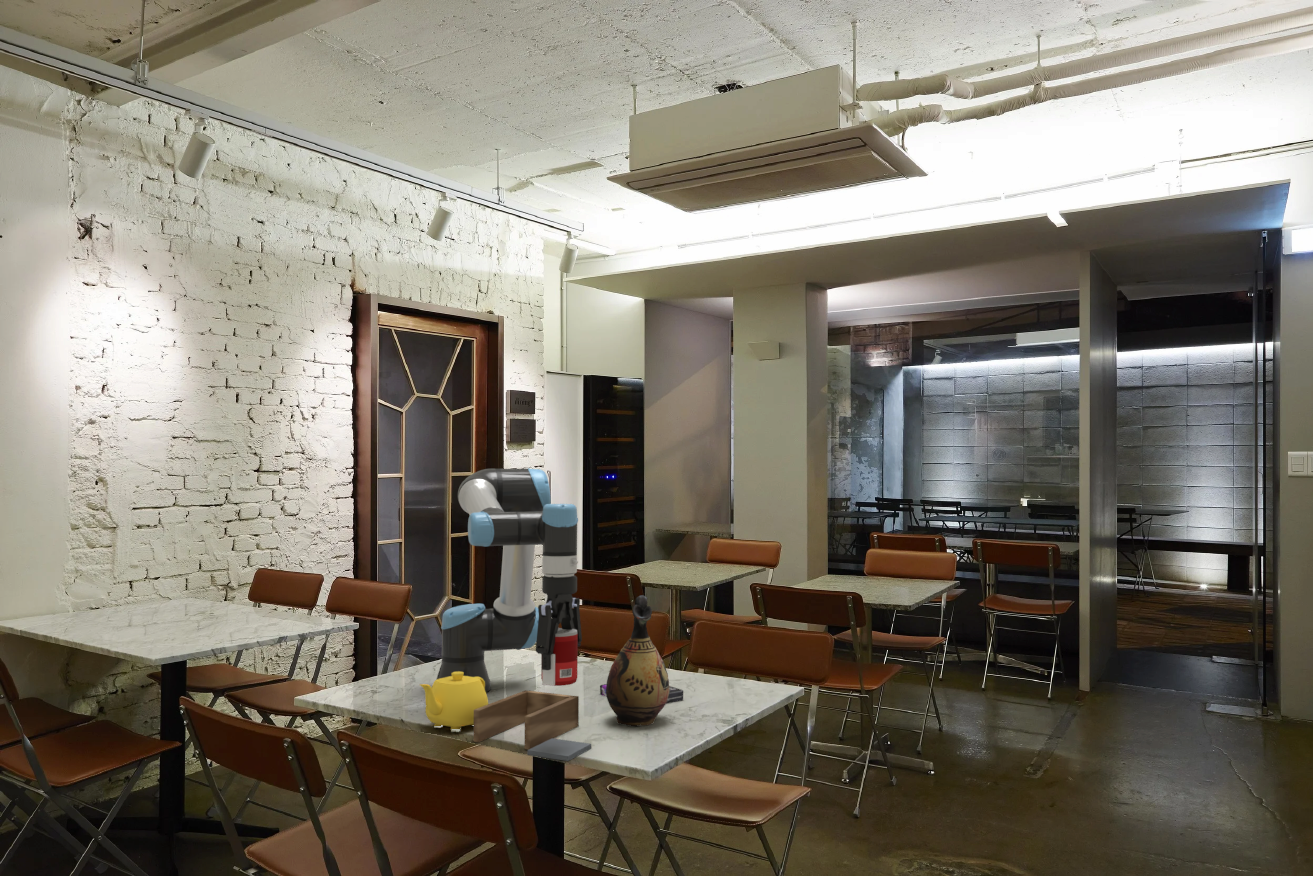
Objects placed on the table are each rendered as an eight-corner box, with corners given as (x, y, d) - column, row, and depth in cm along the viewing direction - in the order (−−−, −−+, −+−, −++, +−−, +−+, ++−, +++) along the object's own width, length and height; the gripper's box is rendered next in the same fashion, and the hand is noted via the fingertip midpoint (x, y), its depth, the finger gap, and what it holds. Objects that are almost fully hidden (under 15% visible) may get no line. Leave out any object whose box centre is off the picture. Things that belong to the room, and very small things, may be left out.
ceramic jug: (672, 729, 215) (672, 600, 217) (606, 730, 214) (607, 601, 215) (666, 711, 232) (665, 592, 233) (605, 712, 231) (605, 592, 232)
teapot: (503, 723, 221) (504, 669, 221) (438, 742, 205) (439, 684, 205) (465, 714, 229) (465, 663, 230) (399, 732, 213) (400, 676, 213)
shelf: (473, 741, 205) (473, 709, 206) (525, 719, 224) (525, 690, 225) (530, 749, 199) (530, 717, 199) (578, 726, 218) (578, 696, 218)
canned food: (583, 679, 201) (583, 628, 201) (567, 687, 193) (568, 634, 194) (551, 677, 203) (551, 627, 204) (535, 684, 196) (535, 632, 196)
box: (599, 697, 250) (642, 710, 235) (599, 684, 251) (641, 696, 235) (640, 689, 259) (684, 701, 243) (640, 677, 259) (684, 688, 244)
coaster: (527, 755, 195) (527, 750, 195) (552, 742, 204) (552, 738, 204) (568, 761, 191) (568, 756, 191) (591, 748, 200) (591, 743, 200)
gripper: (549, 580, 188) (548, 692, 187) (598, 571, 207) (597, 673, 206) (518, 578, 191) (517, 689, 190) (569, 569, 210) (568, 670, 209)
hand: (559, 680), depth 198 cm, fingers closed on canned food, 8 cm apart
